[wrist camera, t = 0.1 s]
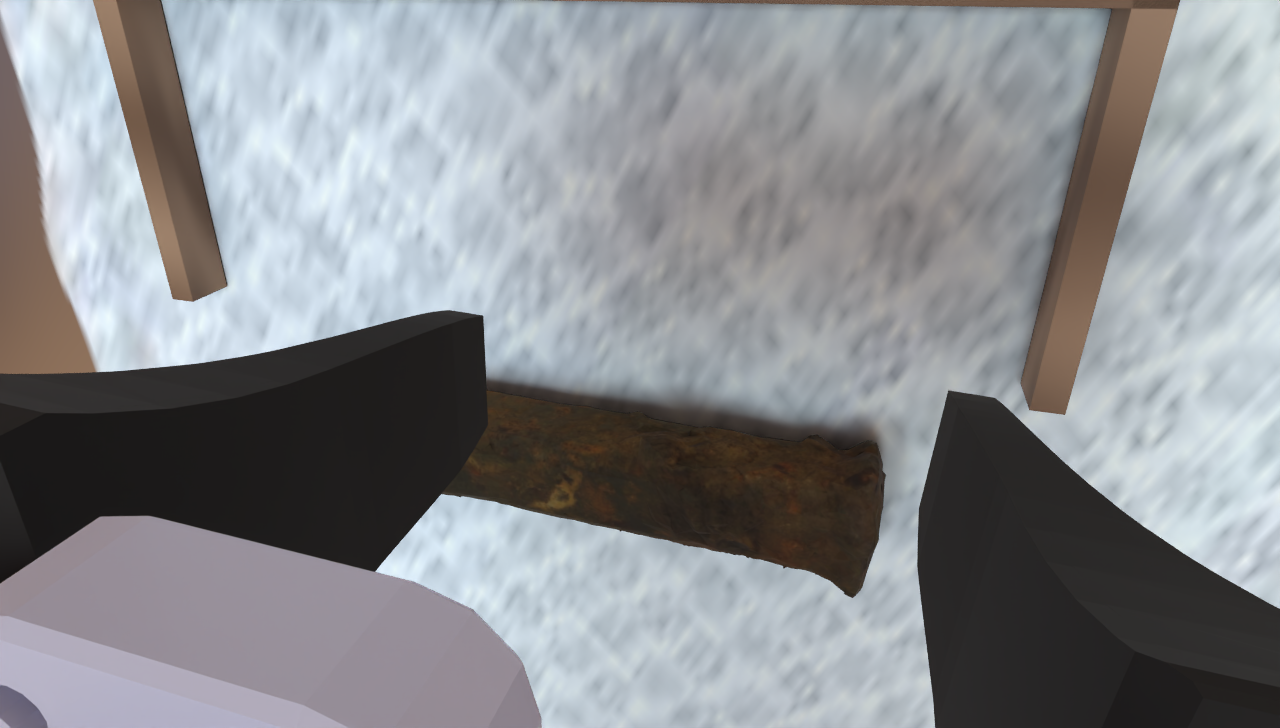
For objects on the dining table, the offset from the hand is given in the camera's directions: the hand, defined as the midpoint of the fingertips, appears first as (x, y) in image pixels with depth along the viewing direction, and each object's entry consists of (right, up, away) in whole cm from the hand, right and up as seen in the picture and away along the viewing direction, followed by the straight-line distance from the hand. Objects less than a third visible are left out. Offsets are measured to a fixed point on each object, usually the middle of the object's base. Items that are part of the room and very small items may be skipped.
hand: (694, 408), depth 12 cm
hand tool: (-3, -2, +14) cm, 14 cm away
